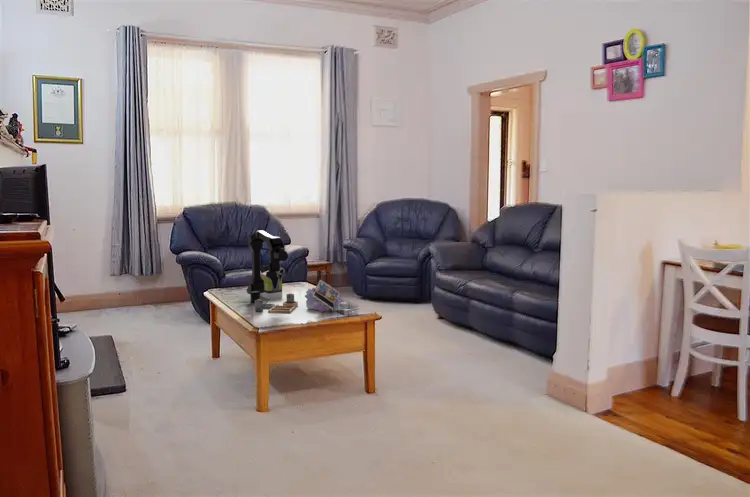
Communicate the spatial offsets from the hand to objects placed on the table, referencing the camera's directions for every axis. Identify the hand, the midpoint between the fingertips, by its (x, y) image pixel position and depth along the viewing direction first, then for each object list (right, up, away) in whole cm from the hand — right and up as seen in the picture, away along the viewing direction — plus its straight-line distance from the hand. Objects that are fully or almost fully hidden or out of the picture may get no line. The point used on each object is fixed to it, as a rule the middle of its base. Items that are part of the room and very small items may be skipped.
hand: (275, 287), depth 354 cm
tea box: (-11, -9, +45) cm, 47 cm away
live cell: (0, -2, 0) cm, 2 cm away
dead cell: (+6, -11, +13) cm, 18 cm away
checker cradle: (-5, -12, +9) cm, 16 cm away
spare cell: (-9, -14, -2) cm, 16 cm away
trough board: (+3, -13, +1) cm, 14 cm away
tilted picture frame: (+26, -13, +7) cm, 30 cm away
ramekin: (+6, -12, +13) cm, 19 cm away
